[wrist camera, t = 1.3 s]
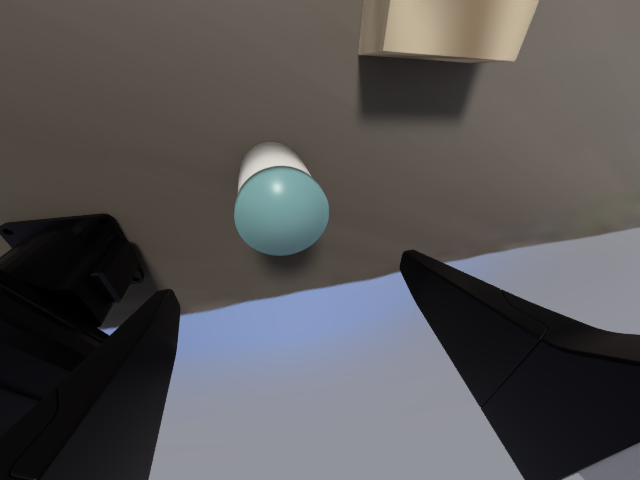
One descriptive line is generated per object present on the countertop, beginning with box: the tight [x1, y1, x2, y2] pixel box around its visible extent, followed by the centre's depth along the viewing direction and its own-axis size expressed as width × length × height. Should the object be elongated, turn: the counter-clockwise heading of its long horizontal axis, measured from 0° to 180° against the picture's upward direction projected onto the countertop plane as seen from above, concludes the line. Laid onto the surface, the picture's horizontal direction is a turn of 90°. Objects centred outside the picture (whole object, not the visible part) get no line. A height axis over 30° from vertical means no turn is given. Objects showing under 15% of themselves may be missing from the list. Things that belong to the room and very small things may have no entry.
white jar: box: [234, 142, 329, 256], centre depth 16 cm, size 5×5×7 cm
